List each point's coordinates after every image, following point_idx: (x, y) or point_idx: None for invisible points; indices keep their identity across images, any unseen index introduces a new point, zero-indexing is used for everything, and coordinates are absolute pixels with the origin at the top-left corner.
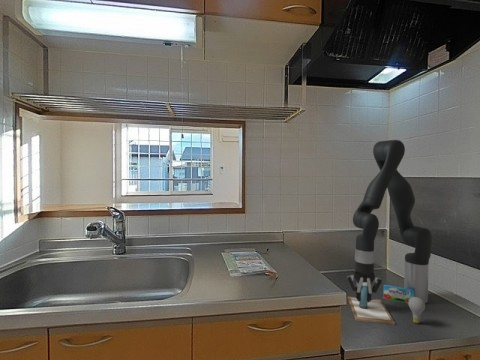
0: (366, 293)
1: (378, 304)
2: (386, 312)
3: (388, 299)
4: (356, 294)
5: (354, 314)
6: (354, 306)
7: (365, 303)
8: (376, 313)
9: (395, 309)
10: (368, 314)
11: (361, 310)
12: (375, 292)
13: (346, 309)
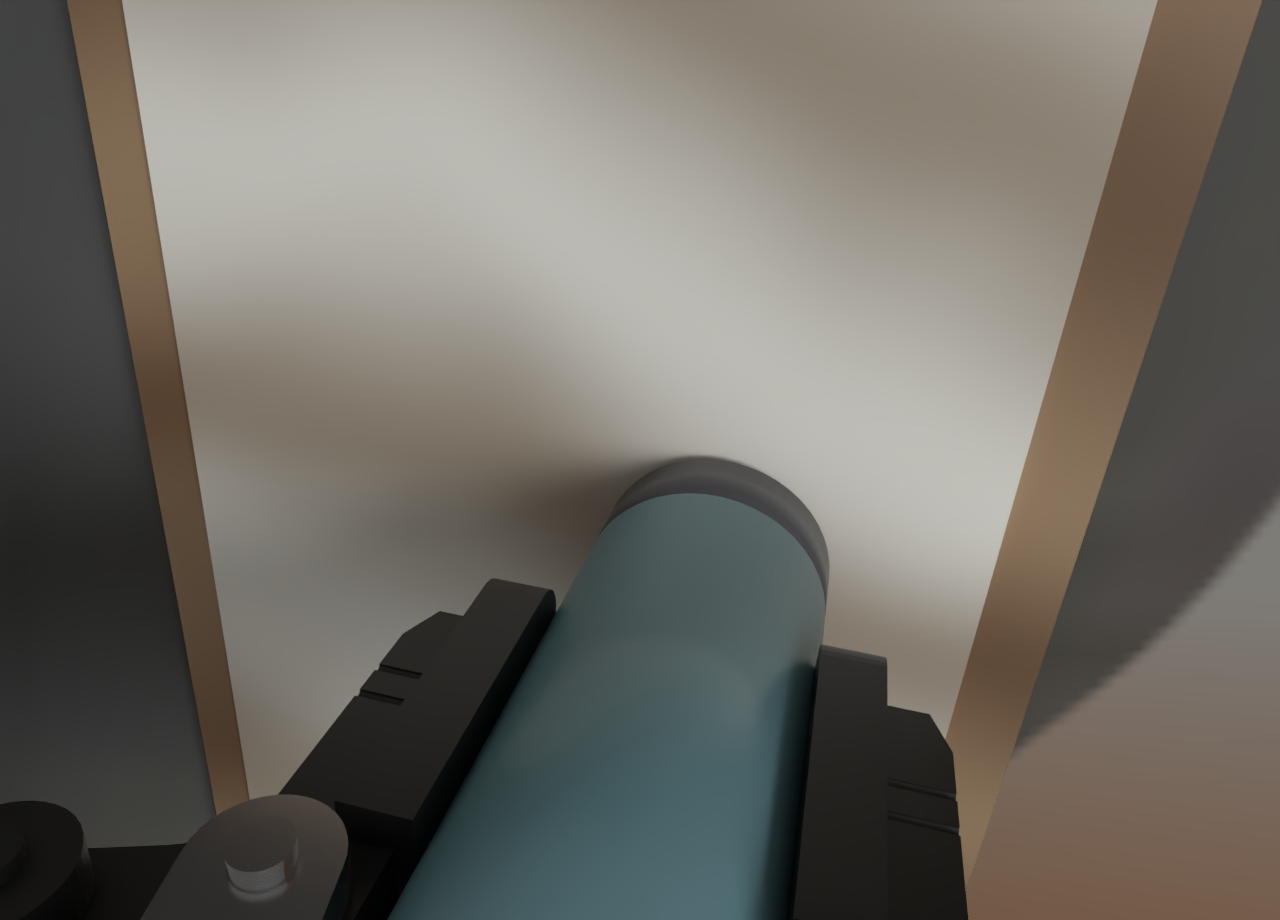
0: (485, 830)
1: (299, 688)
2: (170, 299)
3: None
4: (960, 899)
5: (1234, 64)
6: (968, 601)
7: (651, 541)
8: (436, 213)
9: (22, 549)
10: (703, 104)
11: (841, 369)
12: (20, 808)
13: (1245, 527)
